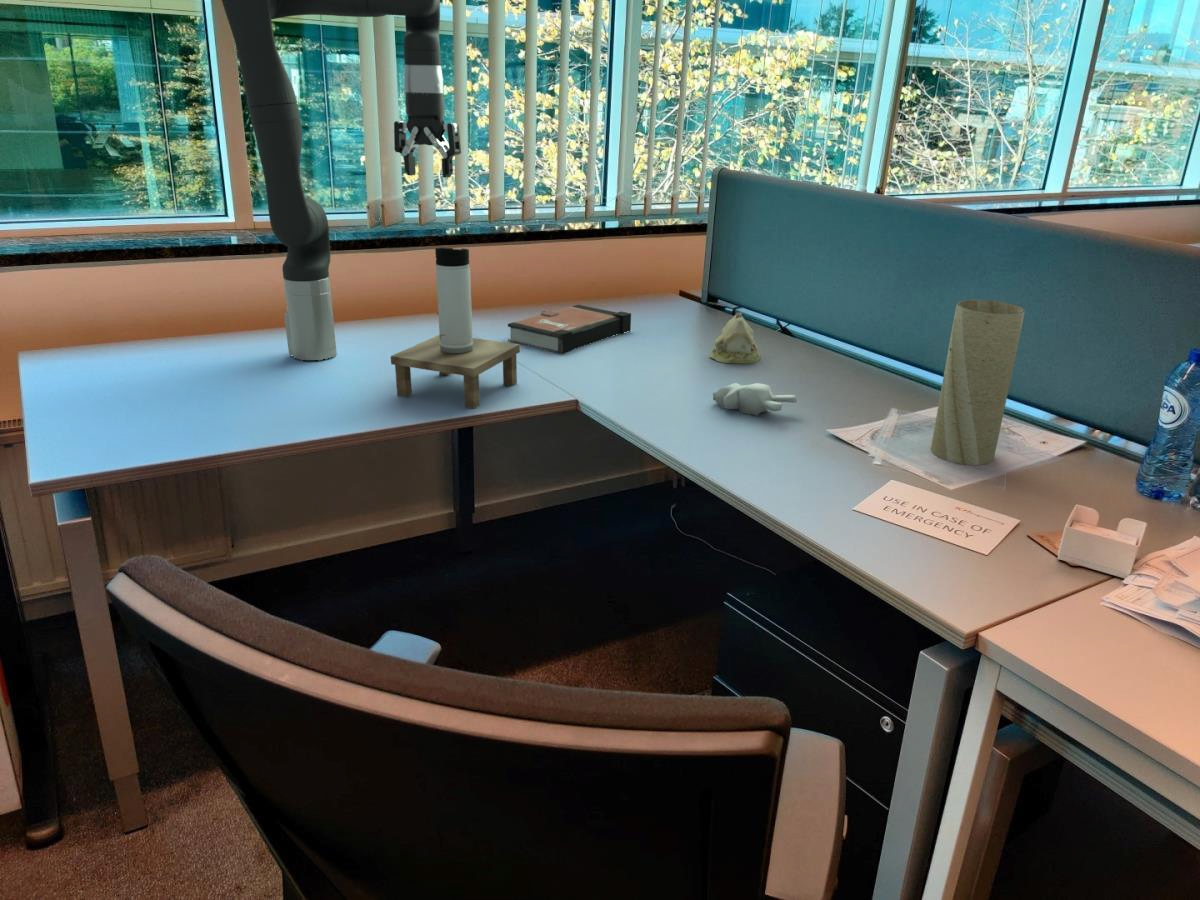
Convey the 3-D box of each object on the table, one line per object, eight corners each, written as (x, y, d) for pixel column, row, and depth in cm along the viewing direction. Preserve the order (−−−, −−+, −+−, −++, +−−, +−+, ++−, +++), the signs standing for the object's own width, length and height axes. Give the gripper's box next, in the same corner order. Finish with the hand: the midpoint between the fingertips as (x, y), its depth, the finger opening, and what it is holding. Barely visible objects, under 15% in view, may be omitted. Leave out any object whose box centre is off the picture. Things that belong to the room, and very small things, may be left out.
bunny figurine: (731, 376, 170) (800, 384, 161) (732, 401, 172) (800, 410, 162) (704, 387, 163) (775, 396, 154) (705, 413, 165) (775, 424, 156)
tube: (961, 468, 140) (991, 316, 130) (917, 446, 149) (942, 302, 139) (1007, 459, 144) (1039, 311, 134) (962, 438, 152) (989, 297, 143)
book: (575, 321, 225) (575, 302, 223) (630, 333, 215) (631, 313, 213) (505, 341, 206) (505, 321, 204) (562, 355, 196) (562, 334, 194)
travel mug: (434, 353, 166) (428, 247, 158) (447, 344, 172) (442, 241, 164) (465, 355, 165) (461, 249, 157) (477, 346, 171) (473, 243, 163)
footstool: (393, 396, 167) (390, 356, 164) (443, 370, 182) (441, 333, 179) (475, 410, 161) (473, 368, 158) (520, 382, 176) (519, 344, 173)
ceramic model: (761, 366, 191) (765, 321, 187) (709, 363, 192) (712, 318, 188) (759, 348, 203) (763, 306, 200) (711, 346, 205) (713, 304, 201)
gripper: (465, 91, 172) (468, 176, 179) (404, 90, 177) (409, 173, 184) (445, 91, 166) (449, 179, 172) (382, 89, 171) (388, 175, 177)
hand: (428, 176), depth 178 cm, fingers open, 8 cm apart
